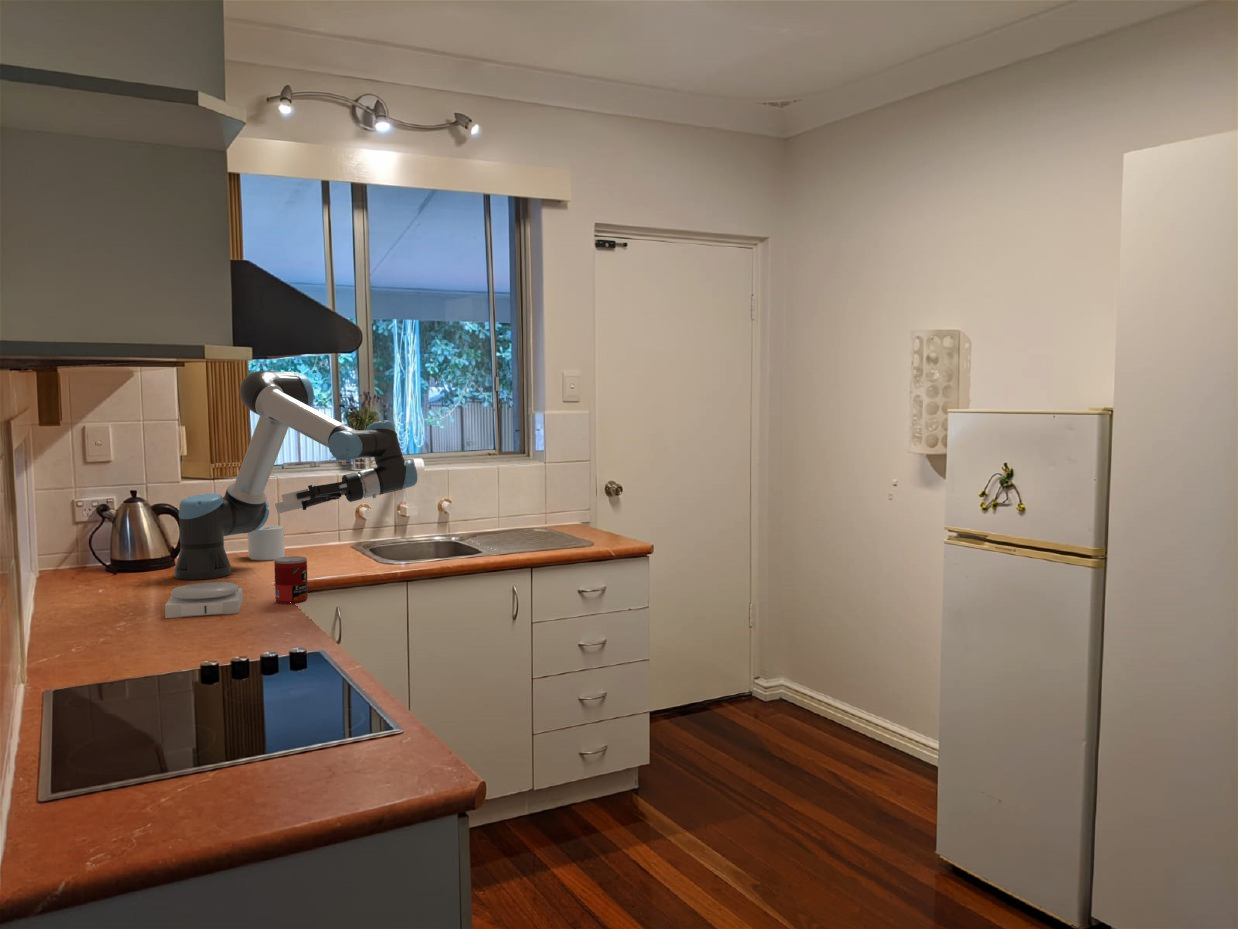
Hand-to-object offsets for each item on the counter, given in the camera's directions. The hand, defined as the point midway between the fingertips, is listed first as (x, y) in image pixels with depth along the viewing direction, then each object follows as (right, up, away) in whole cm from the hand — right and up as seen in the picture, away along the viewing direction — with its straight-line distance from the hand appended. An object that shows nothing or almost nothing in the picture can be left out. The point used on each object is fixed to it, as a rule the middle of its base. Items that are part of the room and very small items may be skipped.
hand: (279, 504), depth 240 cm
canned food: (+4, -25, -4) cm, 25 cm away
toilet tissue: (-27, -20, +60) cm, 69 cm away
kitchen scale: (-14, -25, -12) cm, 31 cm away
